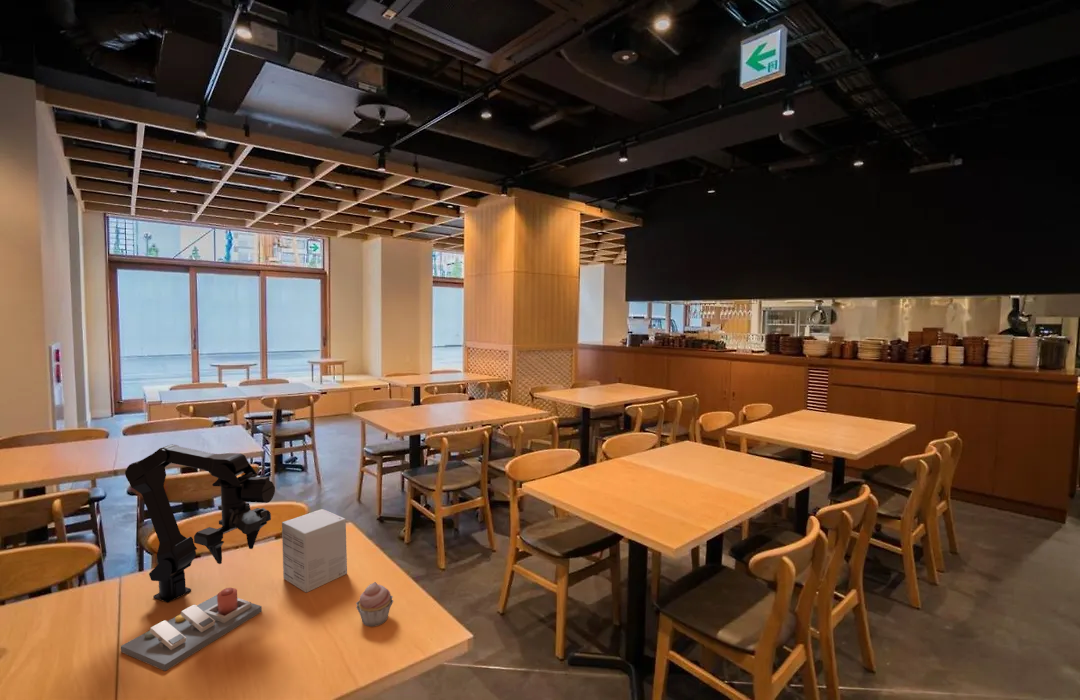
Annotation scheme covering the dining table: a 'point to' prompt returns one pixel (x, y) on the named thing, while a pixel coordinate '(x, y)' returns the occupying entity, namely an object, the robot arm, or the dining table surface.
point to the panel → (189, 635)
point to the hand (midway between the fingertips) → (235, 555)
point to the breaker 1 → (168, 634)
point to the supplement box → (314, 549)
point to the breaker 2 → (198, 618)
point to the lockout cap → (227, 601)
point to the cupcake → (374, 605)
